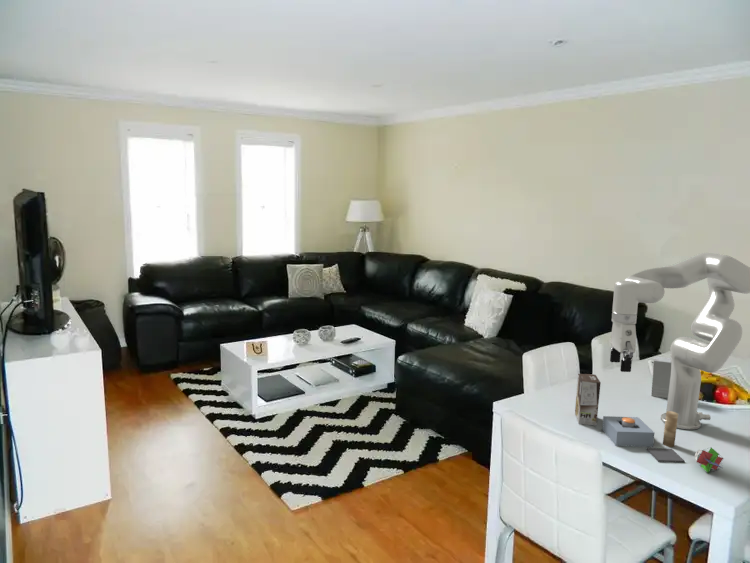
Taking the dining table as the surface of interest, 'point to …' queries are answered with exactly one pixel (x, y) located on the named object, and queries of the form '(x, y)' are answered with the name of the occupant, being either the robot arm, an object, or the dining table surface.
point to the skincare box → (661, 377)
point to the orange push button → (628, 422)
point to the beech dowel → (670, 429)
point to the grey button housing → (628, 432)
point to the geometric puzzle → (708, 459)
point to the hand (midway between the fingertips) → (620, 366)
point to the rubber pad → (665, 455)
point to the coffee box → (587, 399)
